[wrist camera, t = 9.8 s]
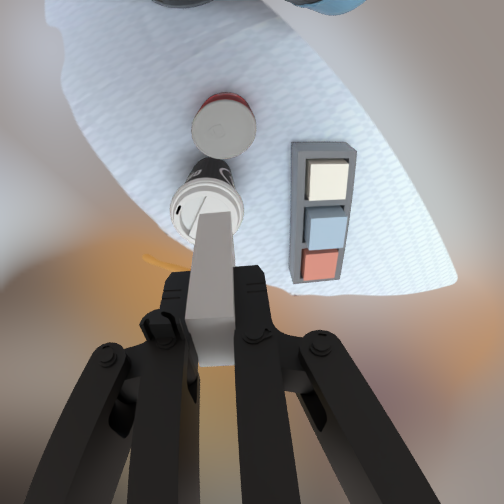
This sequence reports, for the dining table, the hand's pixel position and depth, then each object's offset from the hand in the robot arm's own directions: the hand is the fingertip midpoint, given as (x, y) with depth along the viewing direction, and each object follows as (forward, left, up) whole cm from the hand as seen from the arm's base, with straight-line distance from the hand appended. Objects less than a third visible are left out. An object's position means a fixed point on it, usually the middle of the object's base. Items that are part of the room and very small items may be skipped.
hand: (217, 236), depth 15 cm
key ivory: (+10, +15, -32) cm, 37 cm away
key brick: (+26, +15, -32) cm, 44 cm away
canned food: (0, 0, -35) cm, 35 cm away
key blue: (+18, +15, -30) cm, 38 cm away
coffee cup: (+10, -3, -35) cm, 36 cm away
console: (+18, +15, -34) cm, 42 cm away
